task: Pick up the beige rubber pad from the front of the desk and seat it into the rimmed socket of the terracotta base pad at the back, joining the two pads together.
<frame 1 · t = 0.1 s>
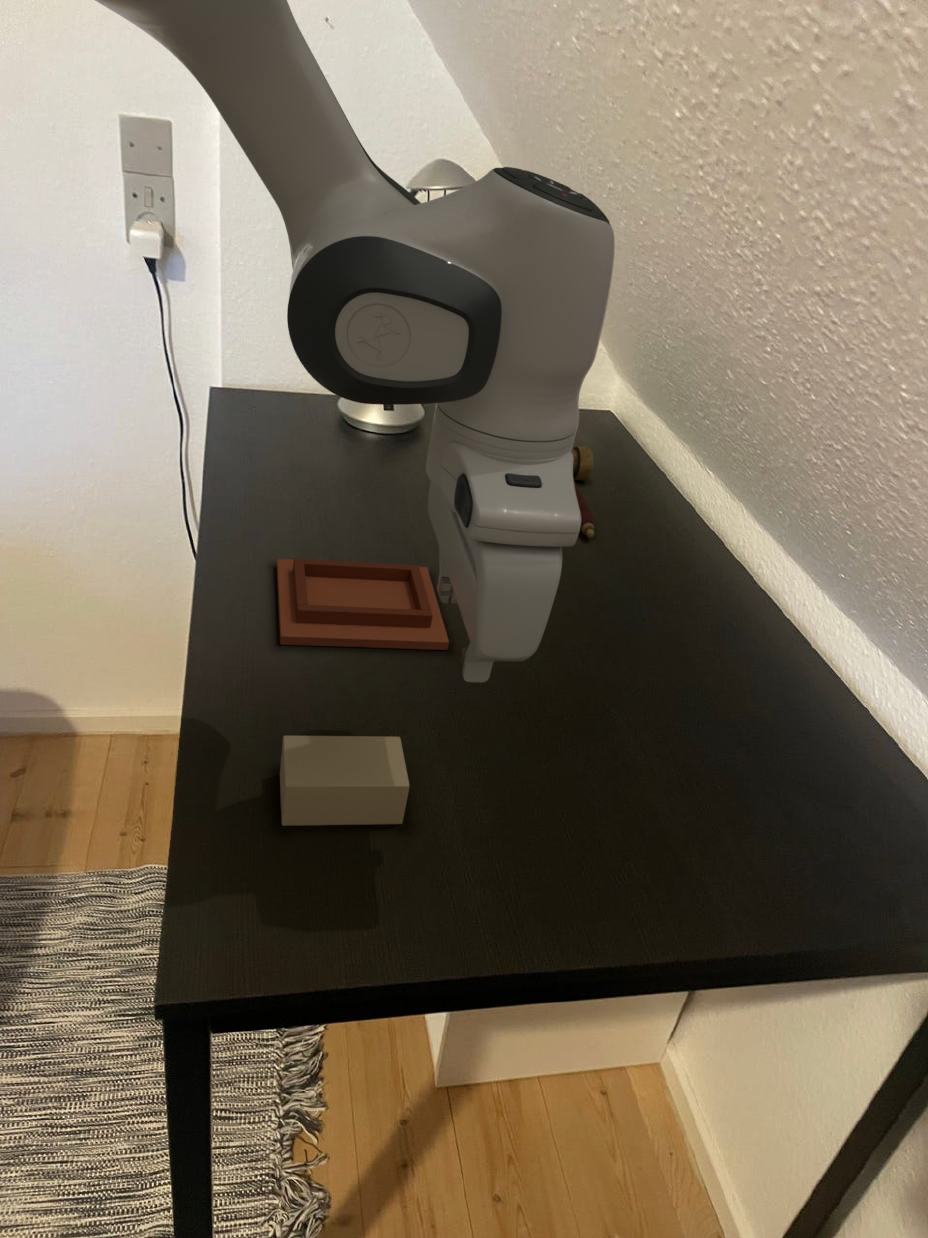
hand: (460, 635, 67), 15 cm above the table, tool pointing down, fingers open, 8 cm apart
base pad: (358, 606, 95), on the table
gavel: (565, 505, 125), on the table
top pad: (340, 799, 73), on the table
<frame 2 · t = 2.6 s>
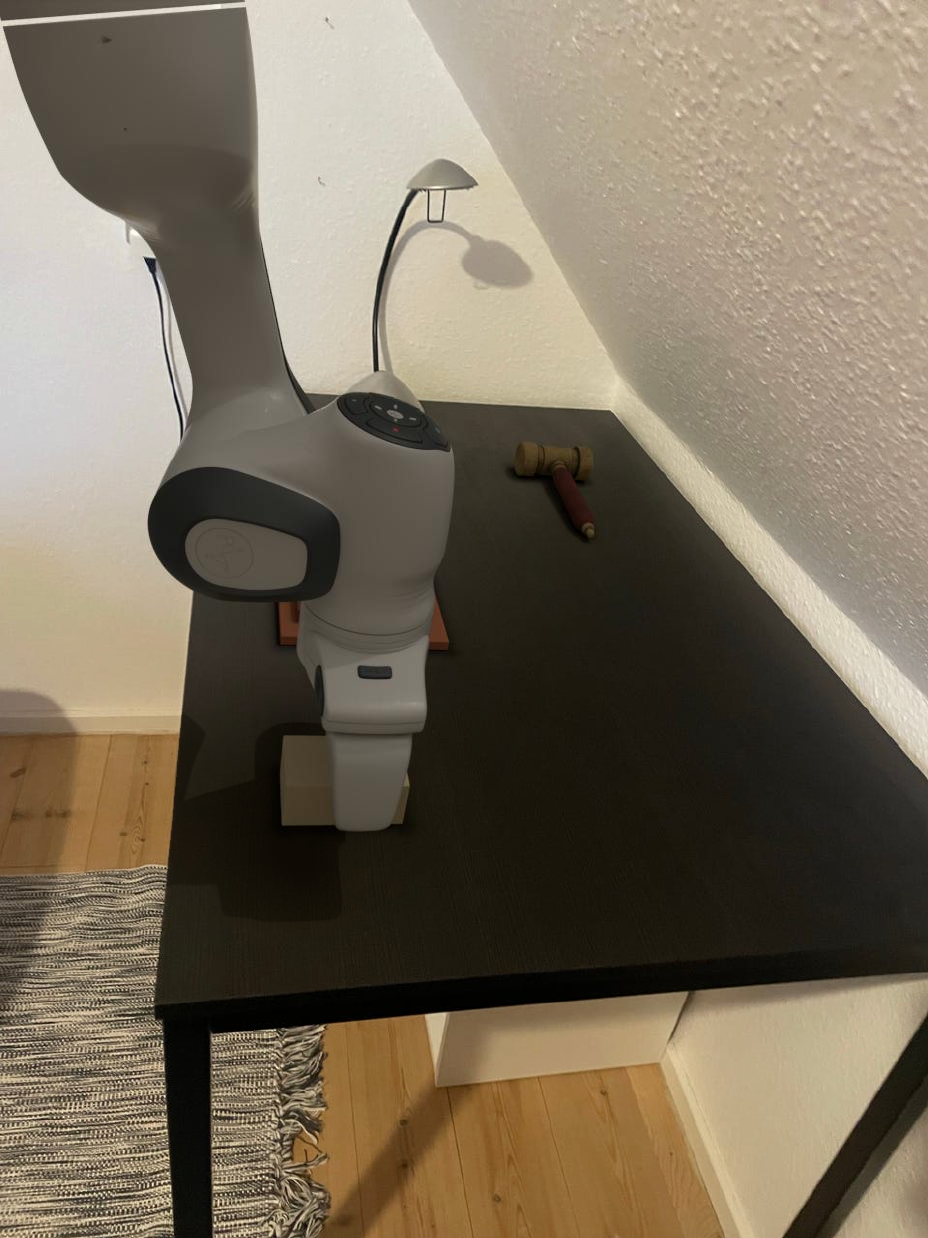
hand: (342, 782, 72), 2 cm above the table, tool pointing down, fingers closed on top pad, 5 cm apart
top pad: (340, 798, 73), on the table, touching gripper
everything else where it was.
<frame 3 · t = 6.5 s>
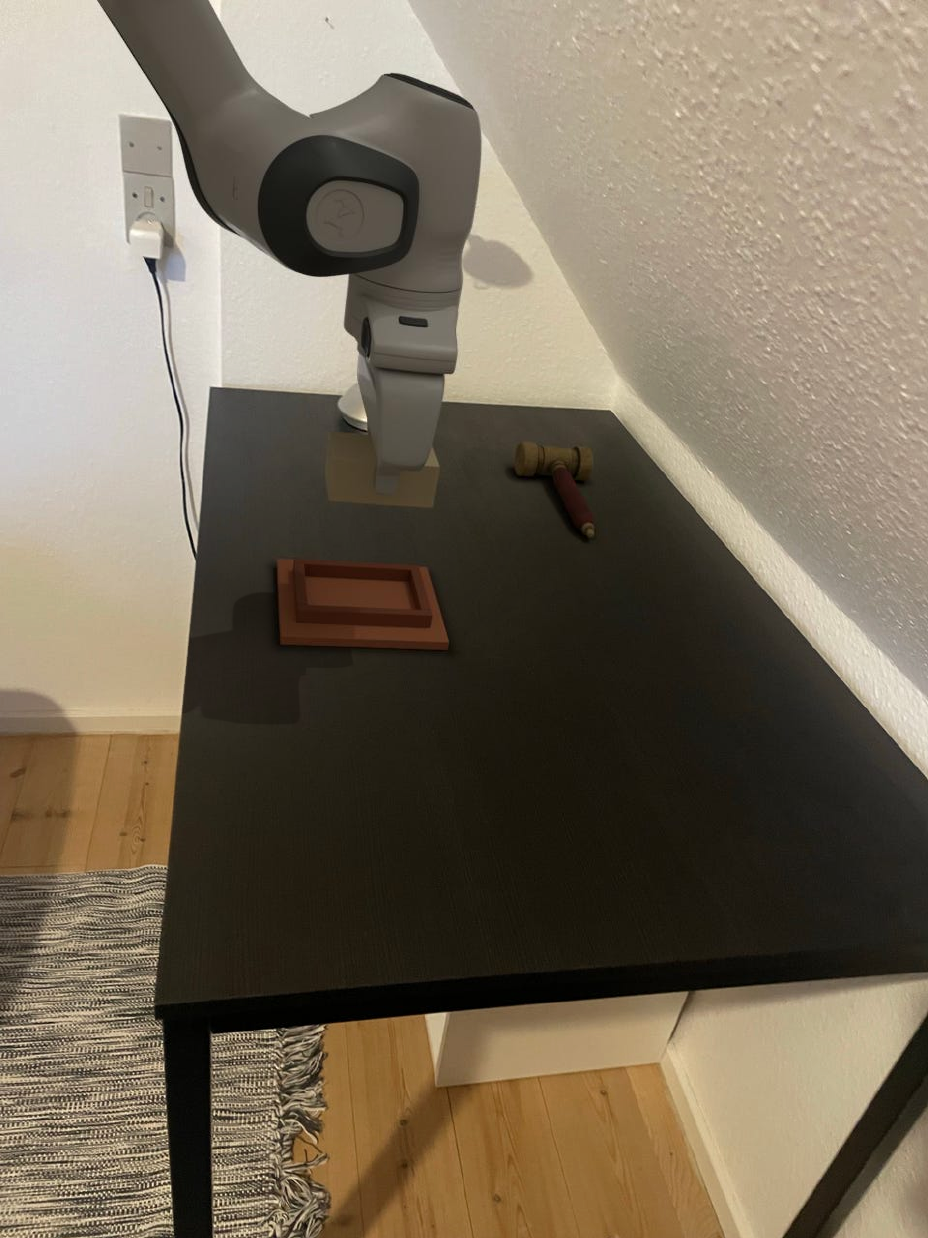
hand: (379, 472, 82), 17 cm above the table, tool pointing down, fingers closed on top pad, 5 cm apart
top pad: (378, 490, 83), point 15 cm above the table, touching gripper
everything else where it was.
when the fingers open (3 cm above the table, at t = 10.7 s): top pad stays where it is, resting on base pad.
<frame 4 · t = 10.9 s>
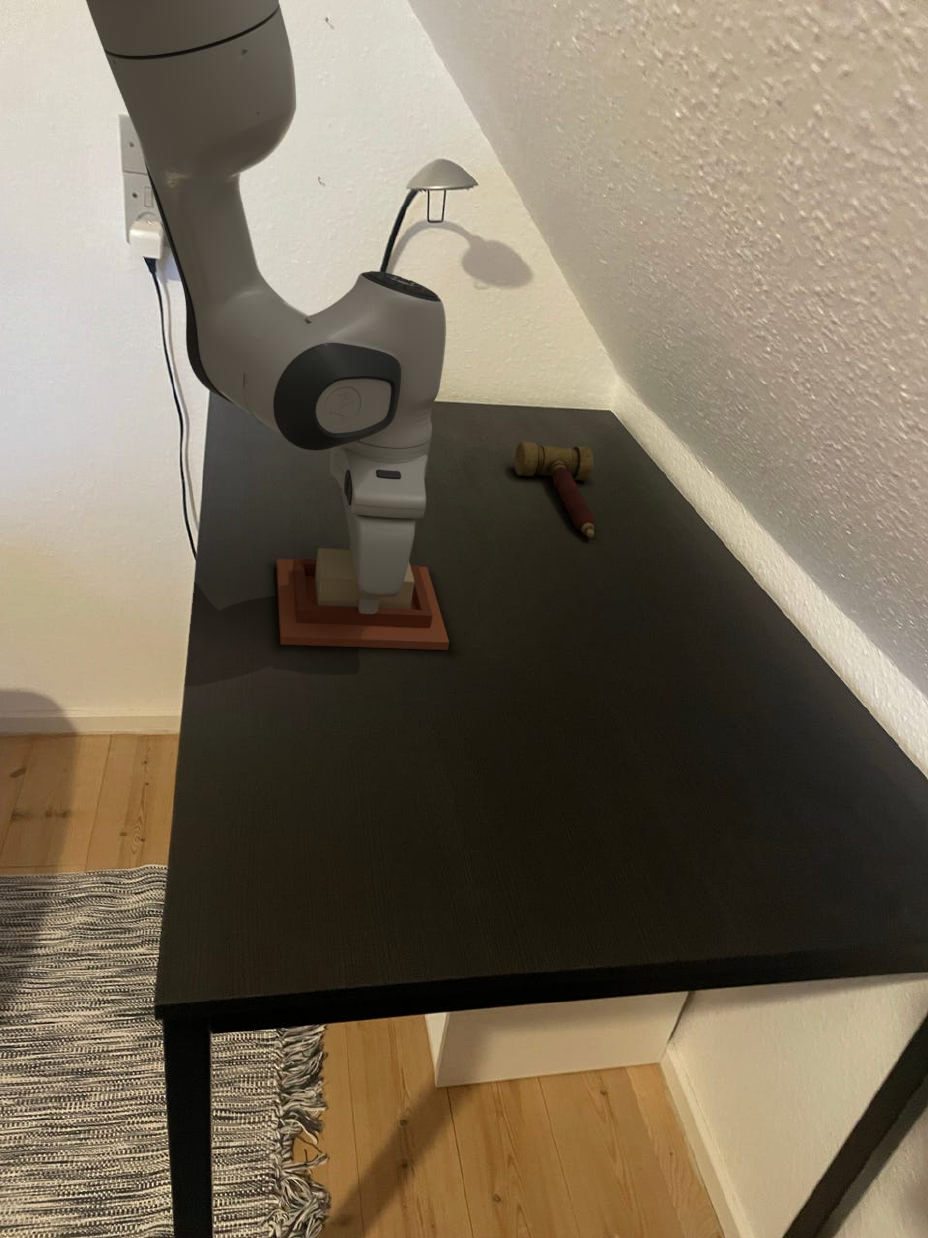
hand: (362, 585, 94), 3 cm above the table, tool pointing down, fingers open, 7 cm apart
top pad: (361, 598, 95), point 1 cm above the table, touching base pad
everything else where it was.
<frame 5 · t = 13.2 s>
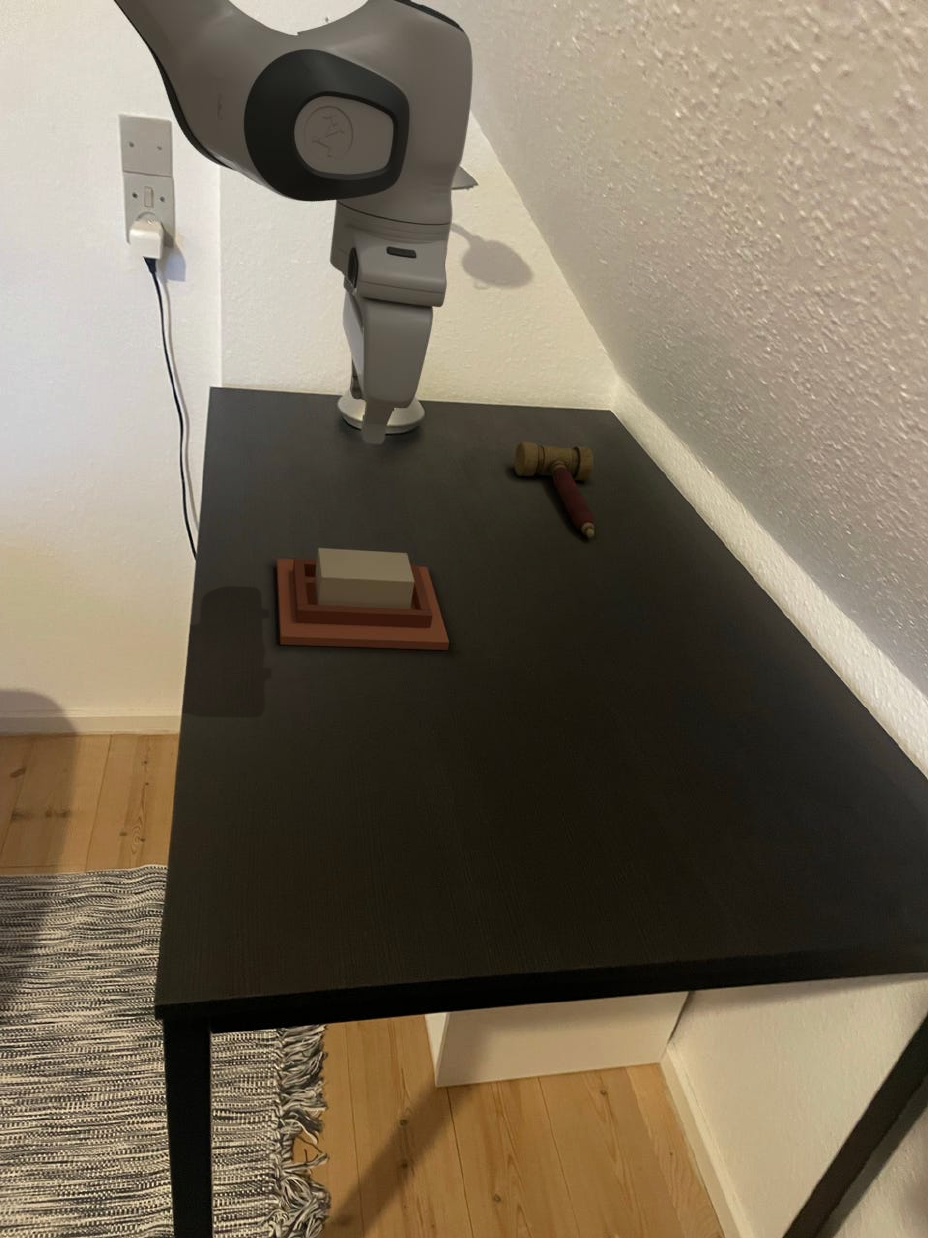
hand: (365, 417, 80), 22 cm above the table, tool pointing down, fingers open, 8 cm apart
nothing on the table moved.
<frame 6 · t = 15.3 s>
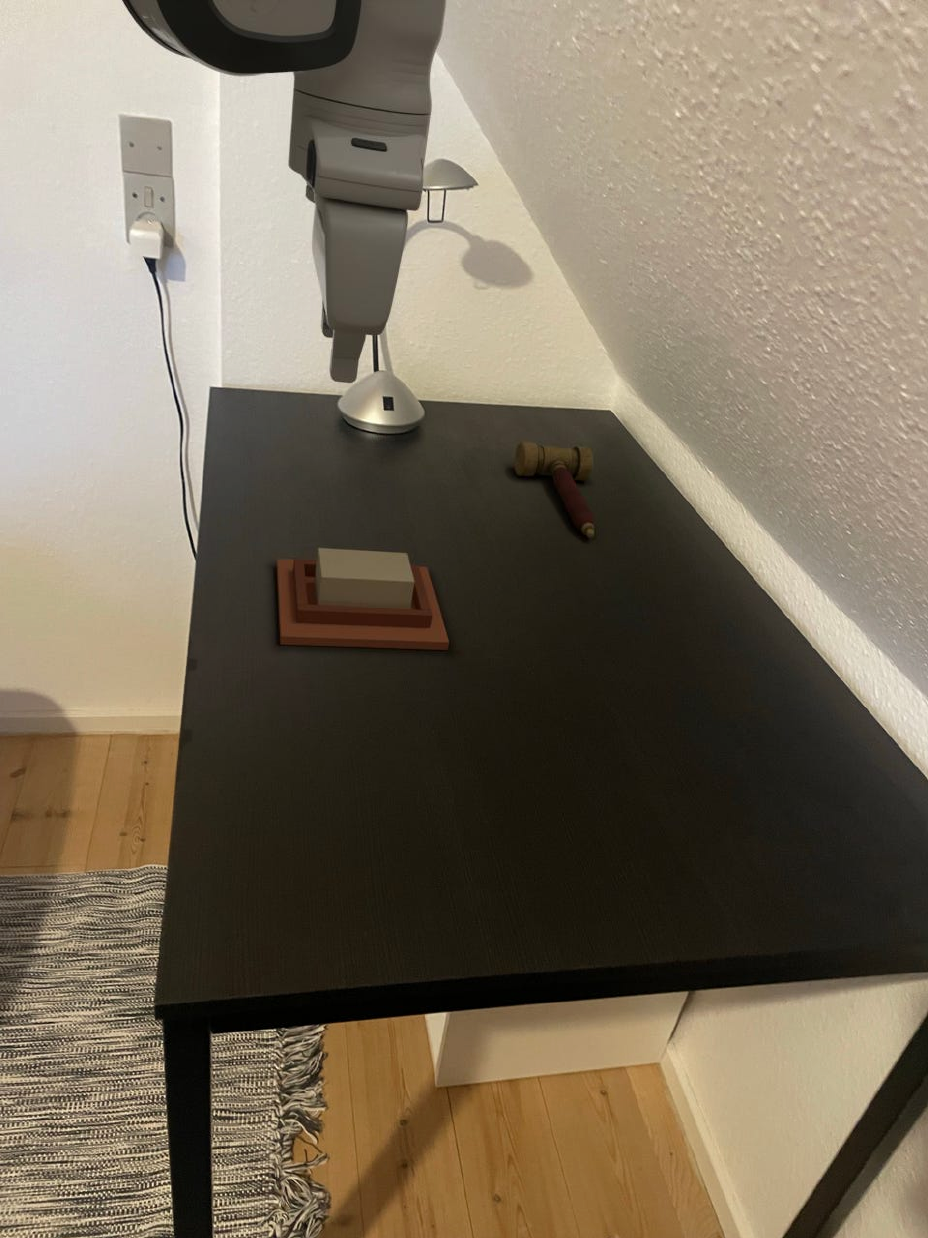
hand: (337, 355, 69), 29 cm above the table, tool pointing down, fingers open, 8 cm apart
nothing on the table moved.
at the end: top pad 0.1 cm off-centre on the base pad, point 1.0 cm above the base pad's base; top pad tilted 0°; the gripper is holding nothing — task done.
